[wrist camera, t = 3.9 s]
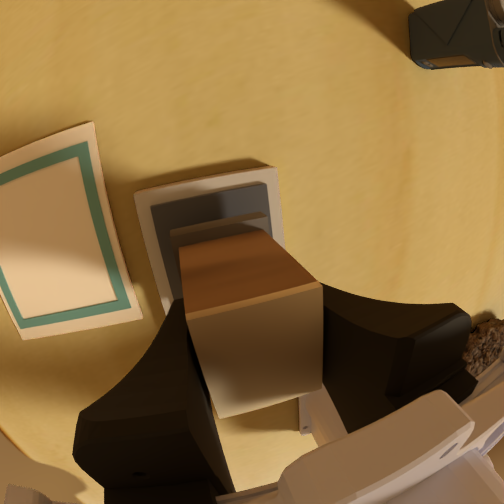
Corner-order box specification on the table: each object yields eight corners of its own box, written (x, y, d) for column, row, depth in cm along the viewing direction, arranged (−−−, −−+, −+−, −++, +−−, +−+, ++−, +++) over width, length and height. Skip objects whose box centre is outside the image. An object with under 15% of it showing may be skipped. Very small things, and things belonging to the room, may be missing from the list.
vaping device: (408, 65, 15) (568, 59, 4) (405, 5, 13) (543, -25, 2) (433, 77, 15) (579, 81, 5) (429, 19, 14) (560, 2, 3)
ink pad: (285, 310, 19) (292, 322, 17) (176, 337, 17) (177, 350, 16) (270, 165, 15) (278, 167, 14) (135, 191, 14) (132, 195, 13)
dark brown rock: (502, 317, 31) (524, 333, 26) (466, 374, 33) (486, 393, 28) (482, 299, 27) (512, 319, 22) (437, 370, 29) (462, 394, 24)
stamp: (272, 307, 15) (328, 395, 9) (194, 326, 14) (215, 428, 8) (260, 211, 13) (331, 266, 7) (169, 230, 12) (170, 305, 7)
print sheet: (143, 315, 16) (142, 319, 16) (24, 337, 15) (22, 341, 14) (93, 121, 12) (91, 121, 12) (-34, 175, 10) (-37, 176, 10)
